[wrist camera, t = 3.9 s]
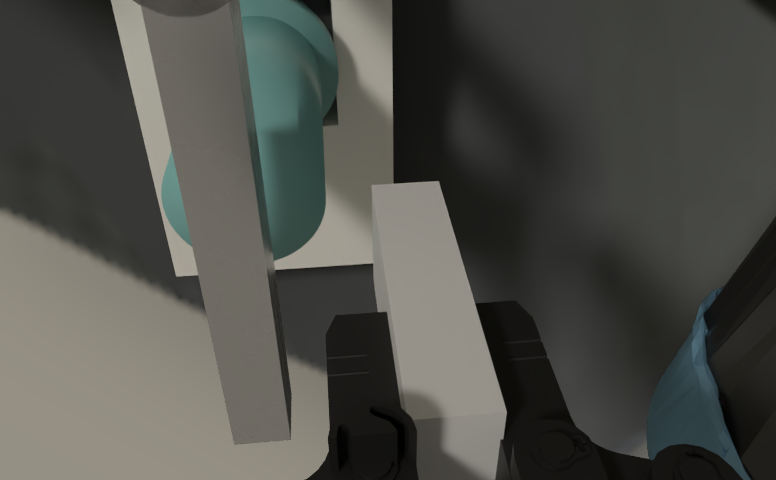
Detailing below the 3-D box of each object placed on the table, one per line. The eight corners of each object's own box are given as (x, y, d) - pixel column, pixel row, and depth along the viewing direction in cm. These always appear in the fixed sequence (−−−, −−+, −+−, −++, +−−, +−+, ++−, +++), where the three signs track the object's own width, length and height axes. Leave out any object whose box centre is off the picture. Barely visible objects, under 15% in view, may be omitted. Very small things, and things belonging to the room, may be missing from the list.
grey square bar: (248, -165, 12) (242, -151, 11) (310, 393, 20) (310, 438, 18) (96, -161, 12) (72, -145, 10) (219, 400, 19) (214, 445, 18)
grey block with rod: (377, -263, 23) (450, -230, 12) (385, 208, 34) (427, 465, 22) (87, -258, 22) (-134, -218, 11) (188, 221, 33) (129, 491, 22)
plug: (331, -38, 26) (345, 98, 17) (338, 99, 29) (354, 275, 20) (180, -33, 25) (112, 110, 16) (204, 105, 28) (158, 288, 19)
